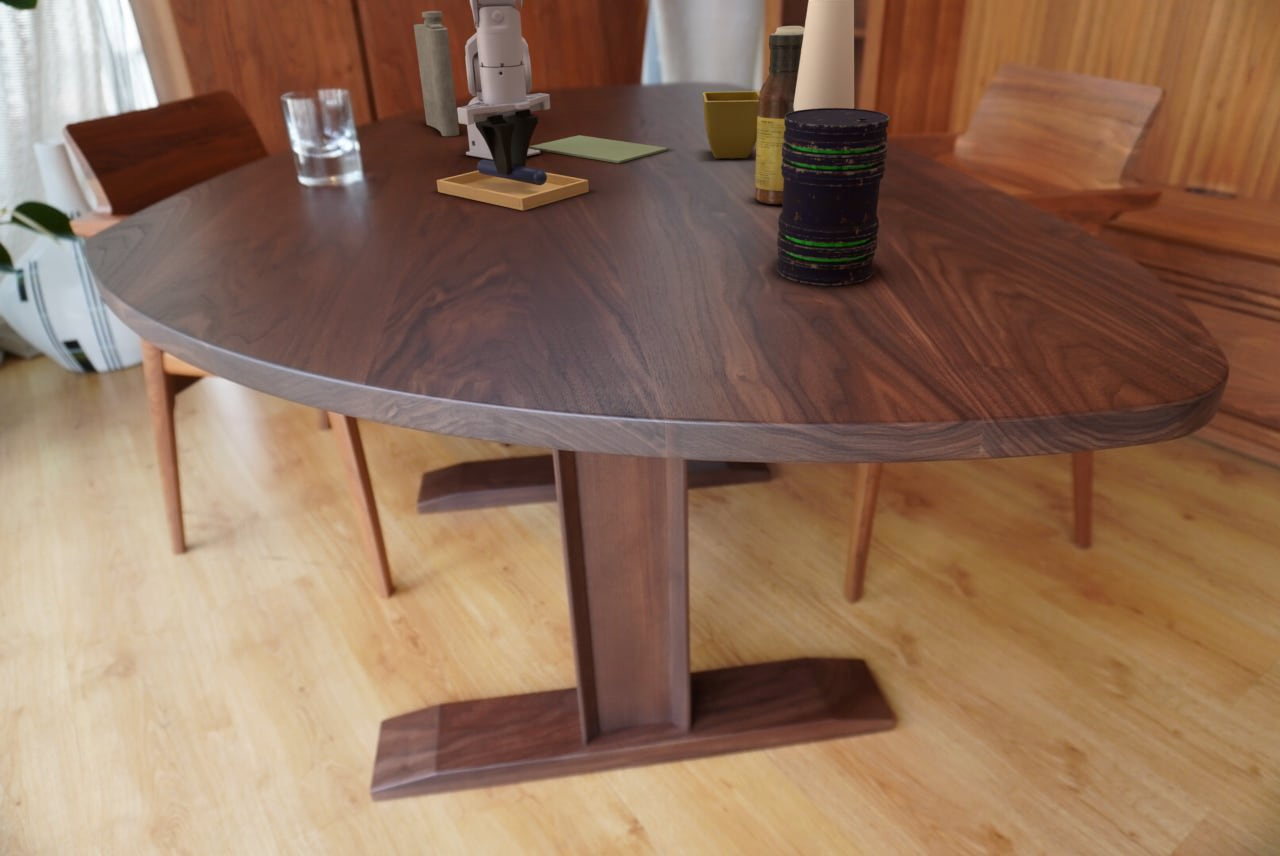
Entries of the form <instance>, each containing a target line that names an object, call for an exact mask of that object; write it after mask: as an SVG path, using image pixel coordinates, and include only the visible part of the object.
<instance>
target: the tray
mask: <svg viewBox="0 0 1280 856" xmlns="http://www.w3.org/2000/svg"><path fill="white" fill-rule="evenodd" d="M544 172H545V173H546V175H547V181H546V182H545V183H544V184H543V185H535V184H530V183H525V182H520V181H515V180H510V179H505V178H500V177H495V176H490V175H485V174H481V173H480V172H479V171H478V170H474V171H470V172H466V173H462V174H458V175H454V176H453V175H452V176H450V177H444V178H440V179H436V186H437V192H438V193H442V194H444V195H445V194H446V195H450V196H455V197H459V198H464V199H468V200H473V201H478V202H483V203H486V204H491V205H496V206H500V207H506V208H509V209H514V210H518V211H522V212H524V211H527V210H531V209H534V208H538V207H541V206H545V205H548V204H551V203H555V202H559V201H562V200H566V199H568V198H572V197H575V196H576V197H577V196H580V195H582V194H586V193H589V192H590V187H589V180H588V179H585V178H578V177H574V176H573V177H572V176H568V175H563V174H562V175H561V174H556V173H551V172H546V171H544Z"/></svg>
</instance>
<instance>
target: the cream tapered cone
mask: <svg viewBox="0 0 1280 856" xmlns="http://www.w3.org/2000/svg"><path fill="white" fill-rule="evenodd" d="M806 9H807V10H806V16H805V21H804V22H805V23H804V28H805V29H804V36H803V43H802V50H801V57H800V63H799V70H798V77H797V84H796V91H795V98H794V105H793V107H794V111H799V110H806V109H818V108H851V109H855V0H808V2H807V8H806Z"/></svg>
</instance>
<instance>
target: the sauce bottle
mask: <svg viewBox="0 0 1280 856" xmlns="http://www.w3.org/2000/svg"><path fill="white" fill-rule="evenodd" d="M768 37H769V38H768V49H769V66H768V72H769V75H768V76H767V78H766V80H765V82H763V83H762V86H761V88H760V90H759V93H760V94H759V113H758V116H757V141H756V143H755V169H754V171H755V173H754V174H755V175H754V187H755V192H754V193H755V194H754V196H755V199H756V200H757V201H758V202H759V203H762V204H766V205H781V206H782V205H783V186H784V178H783V176H782V169H781V166H782V159H783V157H782V144H783V143H784V131H785V130H786V126H785V125H784V121H785V115H786V114H788V113H790V112H794V107H793V105H794V98H795V91H796V84H797V77H798V70H799V63H800V57H801V48H802V43H803V34H802V33H775V32H774V33H770V34H769V35H768Z"/></svg>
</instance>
